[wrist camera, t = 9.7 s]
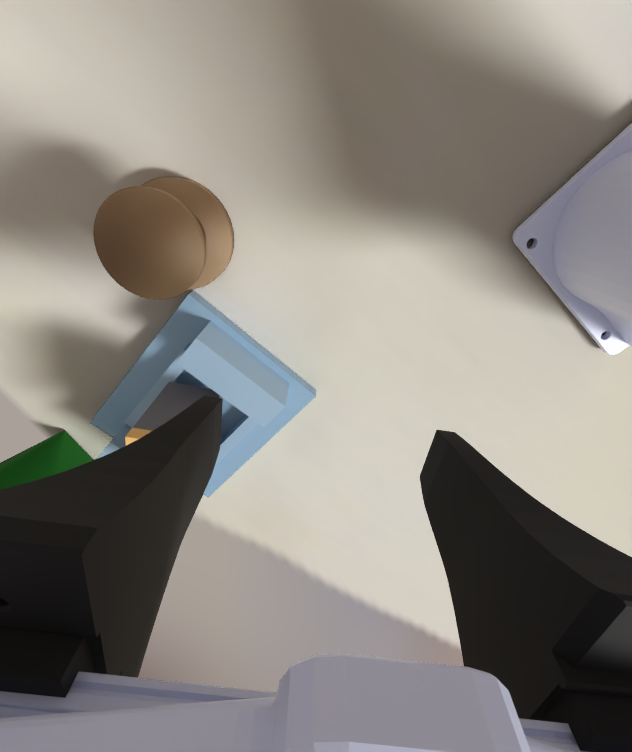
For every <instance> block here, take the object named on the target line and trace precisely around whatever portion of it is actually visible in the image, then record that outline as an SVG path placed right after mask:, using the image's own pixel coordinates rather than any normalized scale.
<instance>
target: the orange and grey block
mask: <svg viewBox="0 0 632 752" xmlns="http://www.w3.org/2000/svg"><path fill="white" fill-rule="evenodd" d="M203 396H209V397H216V398H222V397H221V396H220V395H219V394H217V393H216V392H214V391H213V390H212V389H210V388H204V387H198V386H192V385H186V384H180V383H174V382H168V384H167V385H166V386H165V387H164V389H163V390H162V391H161V392H160V394H159V395H158V396H157V397H156V399H155V400H154V401H153V402H152V404H151V405H150V406H149V407H148V409H147V410H146V411H145V412H144V414H143V415H142V416H141V417H140V419H139V420H138V421H137V422H136V424H135V425H134V426H133V428H132V429H131V430H130V431H129V433H128V434H127V435H126V436H125V443H126V445H128V444H130V443H132V442H134V441H136V440H138V439H140V438H141V437H143V436H145V435H146V434H148V433H150V432H151V431H153V430H155V429H156V428H158V427H160V426H161V425H163V424H164V423H166V422H167V421H169V420H170V419H172V418H173V417H175V416H176V415H178V414H179V413H180V412H182V411H183V410H185V409H186V408H187V407H189V406H190V405H192V404H193V403H194V402H196V401H197V400H199V399H200V398H202V397H203Z"/></svg>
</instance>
